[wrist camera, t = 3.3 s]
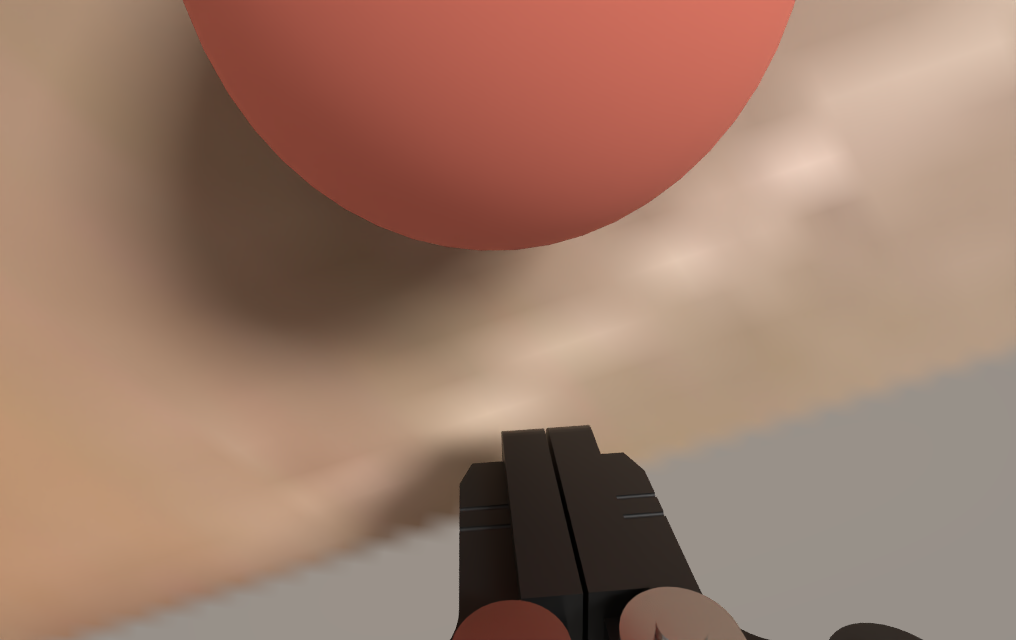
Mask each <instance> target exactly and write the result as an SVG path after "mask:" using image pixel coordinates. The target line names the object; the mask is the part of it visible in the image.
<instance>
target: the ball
mask: <svg viewBox="0 0 1016 640" xmlns="http://www.w3.org/2000/svg"><path fill="white" fill-rule="evenodd" d="M183 2H184V4H185V7H186V9H187V11H188V14H189V16H190V18H191V21H192V23H193V26H194V28H195V30H196V33H197V35H198V37H199V40H200V42H201V44H202V47H203V49H204V51H205V53H206V55H207V57H208V58H209V60H210V62H211V64H212V65H213V67H214V69H215V71H216V73H217V74H218V76H219V78H220V80H221V81H222V83H223V85H224V87H225V89H226V90H227V92H228V94H229V95H230V97H231V98H232V99H233V101H234V102H235V104H236V105H237V106H238V108H239V109H240V111H241V112H242V113H243V115H244V116H245V117H246V119H247V120H248V122H249V123H250V124H251V126H252V127H253V129H254V130H255V131H256V132H257V133H258V134H259V135H260V136H261V137H262V139H263V140H264V141H265V142H266V143H267V144H268V145H269V146H270V147H271V148H272V150H273V151H274V152H275V153H276V154H277V155H278V156H279V157H280V158H281V159H282V161H284V162H285V163H286V164H287V165H288V166H289V167H291V168H292V169H293V170H294V171H295V172H296V173H297V174H299V175H300V176H301V177H302V178H303V179H304V180H305V181H307V182H308V183H309V184H310V185H311V186H312V187H314V188H315V189H317V190H318V191H320V192H321V193H322V194H324V195H325V196H327V197H328V198H330V199H331V200H333V201H334V202H336V203H337V204H338V205H340V206H341V207H343V208H344V209H346V210H348V211H350V212H352V213H354V214H356V215H358V216H360V217H362V218H364V219H365V220H367V221H369V222H371V223H373V224H375V225H377V226H379V227H382V228H385V229H387V230H390V231H393V232H395V233H398V234H401V235H403V236H406V237H409V238H411V239H416V240H420V241H424V242H428V243H432V244H437V245H441V246H445V247H453V248H462V249H471V250H481V251H482V250H518V249H525V248H531V247H538V246H545V245H551V244H554V243H558V242H561V241H565V240H568V239H572V238H576V237H579V236H583V235H585V234H588V233H590V232H592V231H595V230H597V229H599V228H602V227H604V226H607V225H609V224H611V223H614V222H616V221H618V220H619V219H621V218H623V217H625V216H626V215H628V214H630V213H632V212H633V211H635V210H637V209H639V208H640V207H642V206H644V205H645V204H647V203H649V202H650V201H652V200H653V199H654V198H656V197H657V196H658V195H660V194H661V193H662V192H664V191H665V190H666V189H668V188H669V187H670V186H672V185H673V184H674V183H676V182H677V181H678V180H680V179H681V178H682V177H683V176H684V175H685V174H686V173H687V172H688V171H689V170H690V169H692V168H693V167H694V166H695V165H696V164H697V163H698V162H699V161H700V160H701V159H702V158H703V157H704V156H705V155H706V154H707V153H708V152H709V151H710V150H711V149H712V148H713V147H714V145H715V144H716V143H717V142H718V141H719V139H720V138H721V137H722V136H723V135H724V133H725V132H726V131H727V130H728V129H729V127H730V126H731V125H732V124H733V123H734V122H735V120H736V119H737V117H738V116H739V114H740V113H741V111H742V109H743V108H744V106H745V105H746V103H747V102H748V100H749V99H750V97H751V96H752V94H753V93H754V91H755V90H756V88H757V87H758V85H759V83H760V81H761V79H762V77H763V75H764V73H765V71H766V69H767V68H768V66H769V64H770V62H771V60H772V58H773V56H774V54H775V52H776V50H777V48H778V45H779V43H780V40H781V38H782V35H783V32H784V30H785V27H786V25H787V22H788V20H789V17H790V14H791V12H792V9H793V6H794V3H795V0H183Z"/></svg>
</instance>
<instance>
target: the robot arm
mask: <svg viewBox="0 0 1016 640" xmlns="http://www.w3.org/2000/svg"><path fill="white" fill-rule="evenodd" d="M501 438H502V460H503V462H489V463H475V464H472V465H471V467H470V468H469V470H468V472H467V473H466V475H465V477H464V478H463V480H462V481H461V483H460V533H459V535H460V537H459V539H460V540H459V541H460V543H459V549H460V550H459V557H460V558H459V618H458V623H457V626H456V629H455V631H454V634H453V636H452V638H451V639H450V640H768V639H764V638H761V637H758V636H755V635H753V634H750V633H748V632H745V631H744V630H742V629H740V628H739V626H738V625H737V623H736V622H735V620H734V619H733V617H732V616H731V615H730V614H729V613H728V612H727V611H726V610H725V609H724V608H723V607H721V606H720V605H719V604H718V603H716V602H715V601H713V600H711V599H710V598H708V597H706V596H704V595H703V594H702V593H701V591H700V589H699V587H698V585H697V582H696V580H695V578H694V576H693V574H692V572H691V570H690V568H689V565H688V563H687V561H686V559H685V557H684V555H683V553H682V550H681V548H680V546H679V544H678V542H677V539H676V537H675V535H674V533H673V531H672V529H671V527H670V524H669V522H668V520H667V518H666V516H664V514H663V509H662V507H661V505H660V503H659V501H658V499H657V497H655V492H654V490H653V488H652V486H651V484H650V481H649V479H648V477H647V475H646V473H645V471H644V470H643V469H642V468H641V467H640V466H639V465H637V464H636V463H635V462H634V461H633V460H632V459H630V458H629V457H628V456H627V455H626V454H624V453H610V454H600V451H599V448H598V446H597V443H596V440H595V438H594V435H593V432H592V430H591V427H590V426H589V425H584V426H570V427H556V428H547V429H546V434H545V431H544V429H529V430H515V431H502V432H501ZM829 640H922V639H920V638H918V637H916V636H914V635H912V634H910V633H908V632H905V631H902V630H900V629H897V628H894V627H890V626H886V625H881V624H874V623H858V624H851V625H848V626H845V627H842V628H841V629H839V630H838V631H836V632H835V633H834V634H833V635H832V636H831V637H830V639H829Z"/></svg>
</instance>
